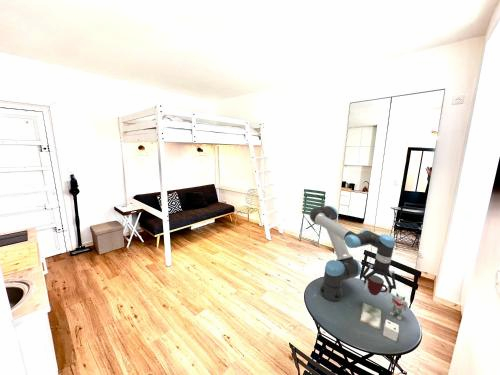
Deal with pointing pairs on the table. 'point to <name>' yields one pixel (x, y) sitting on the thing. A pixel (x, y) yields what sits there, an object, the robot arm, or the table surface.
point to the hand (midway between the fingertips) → (375, 292)
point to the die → (391, 330)
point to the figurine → (398, 305)
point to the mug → (375, 285)
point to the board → (371, 316)
